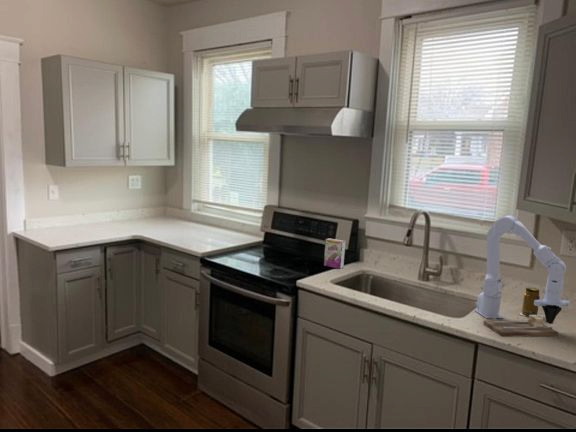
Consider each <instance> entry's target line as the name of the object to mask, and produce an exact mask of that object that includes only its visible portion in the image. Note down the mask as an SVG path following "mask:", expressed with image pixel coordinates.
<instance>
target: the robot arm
mask: <svg viewBox="0 0 576 432" xmlns="http://www.w3.org/2000/svg"><path fill="white" fill-rule="evenodd" d="M507 232H510V233H511V234H512V235H513V234H514V235H516V236H519V237H520V238H521V239H522V240H523V241H524V242H525V243H526V244H527V245H529V247H530V248H531V249H533V255H534V256H535V258H537V260H538V261H539V262H540V263H541V264H542V265H543V266H544V267H545V268H547V273H548V275H547V278H546V285H545V291H544V298H542V299H539V300H534V305H535V306H538V307H540V306H541V307H542V310H543V313H544V317H545V322H546V323H547V324H550V325H553V323H554V322H555V319H556V317H557V316H558V314H559V313H560V312H561V311H562V307H567V308H568V307H571V301H569V300H566V299H565V300H564V299H563V300H562V295H563V289H564V283H565V280H564V279H565V274H566V271H567V265H566V263H565V261H564V260H562V259H561V258H560V257H559V256H556V254H555V253H554V252H553V251H552V248H551V247H550V246H548V245H544V244H541V243H540V242H539V241H538V240H537V239H536V238H535V237H534V235H533V234H532V233H531V232H530V231H529V230H528V229H527V227H525V225H524V224H523V223H522V222H521V221H520V220H518V219H517V218H516V216H514V215H511V214H507V215H504V216H502V217H500V218H498V219H496V220H495V221H494V222H493V224H492V226H491V227H490V228H489V230H488V231H487V234H486V237H487V238H486V275H485V278H484V284H483V285H482V292H481V293H480V294H479V295H478V296H477V303H476V309H474V311H475V312H476V313H478V314H479V315H481V316H482V317H483V318H486V319H504V316H503V315H501V314H500V311H501V310H500V309H501V300H502V295H501V292H502V290H503V289H504V284H503V282H502V276H501V272H500V271H501V269H500V264H501V261H500V259H501V257H500V256H501V252H500V251H501V239H500V238H501V237H502V236H503V235H505V234H506V233H507Z"/></svg>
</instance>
